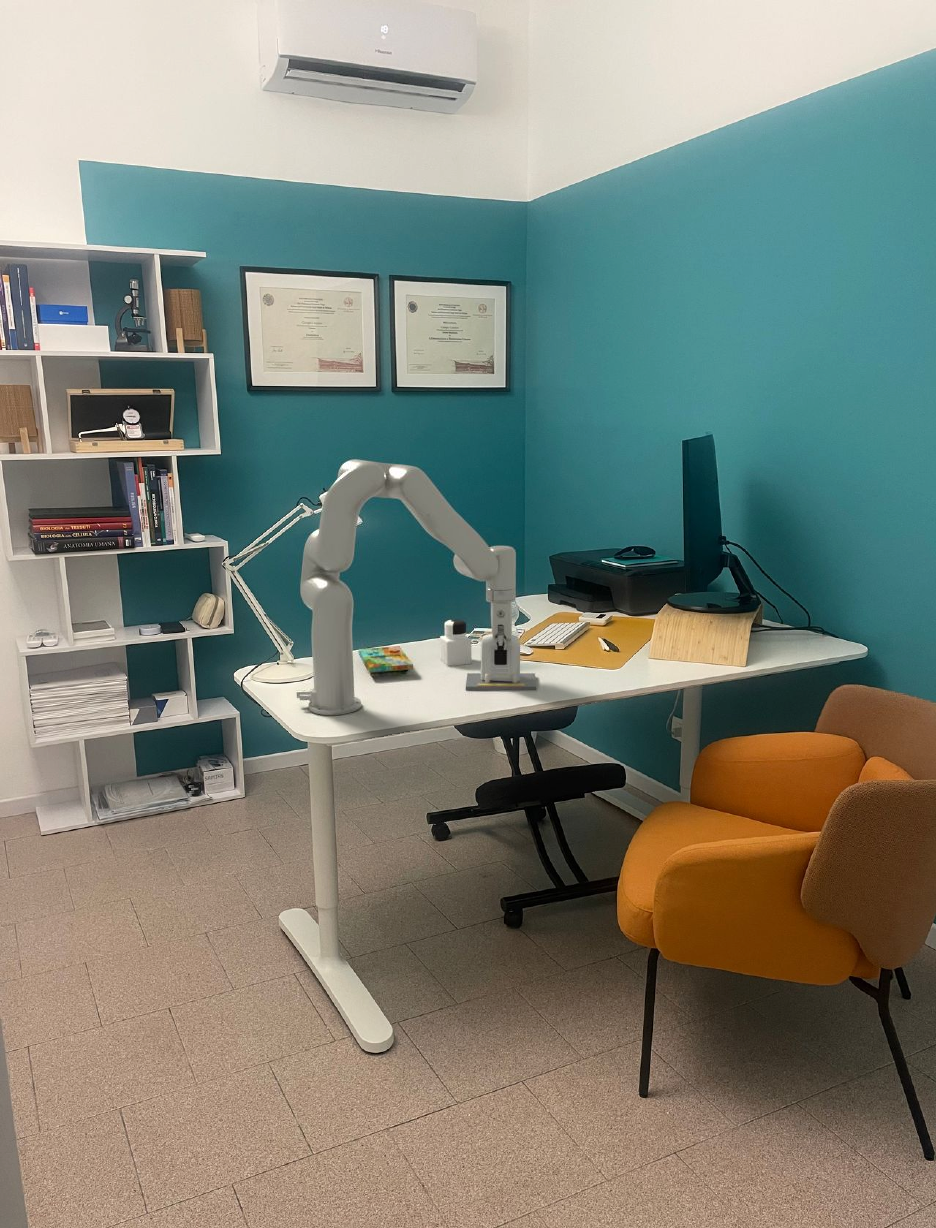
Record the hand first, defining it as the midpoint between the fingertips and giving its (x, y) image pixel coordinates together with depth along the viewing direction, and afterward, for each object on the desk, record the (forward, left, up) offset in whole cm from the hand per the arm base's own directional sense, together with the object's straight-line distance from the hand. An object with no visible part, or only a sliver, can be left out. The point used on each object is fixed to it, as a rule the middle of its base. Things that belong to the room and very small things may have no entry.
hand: (500, 659), depth 243 cm
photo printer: (0, 0, -6) cm, 6 cm away
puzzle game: (-32, +14, -7) cm, 35 cm away
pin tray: (0, 0, -7) cm, 7 cm away
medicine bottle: (-13, +21, -7) cm, 25 cm away
